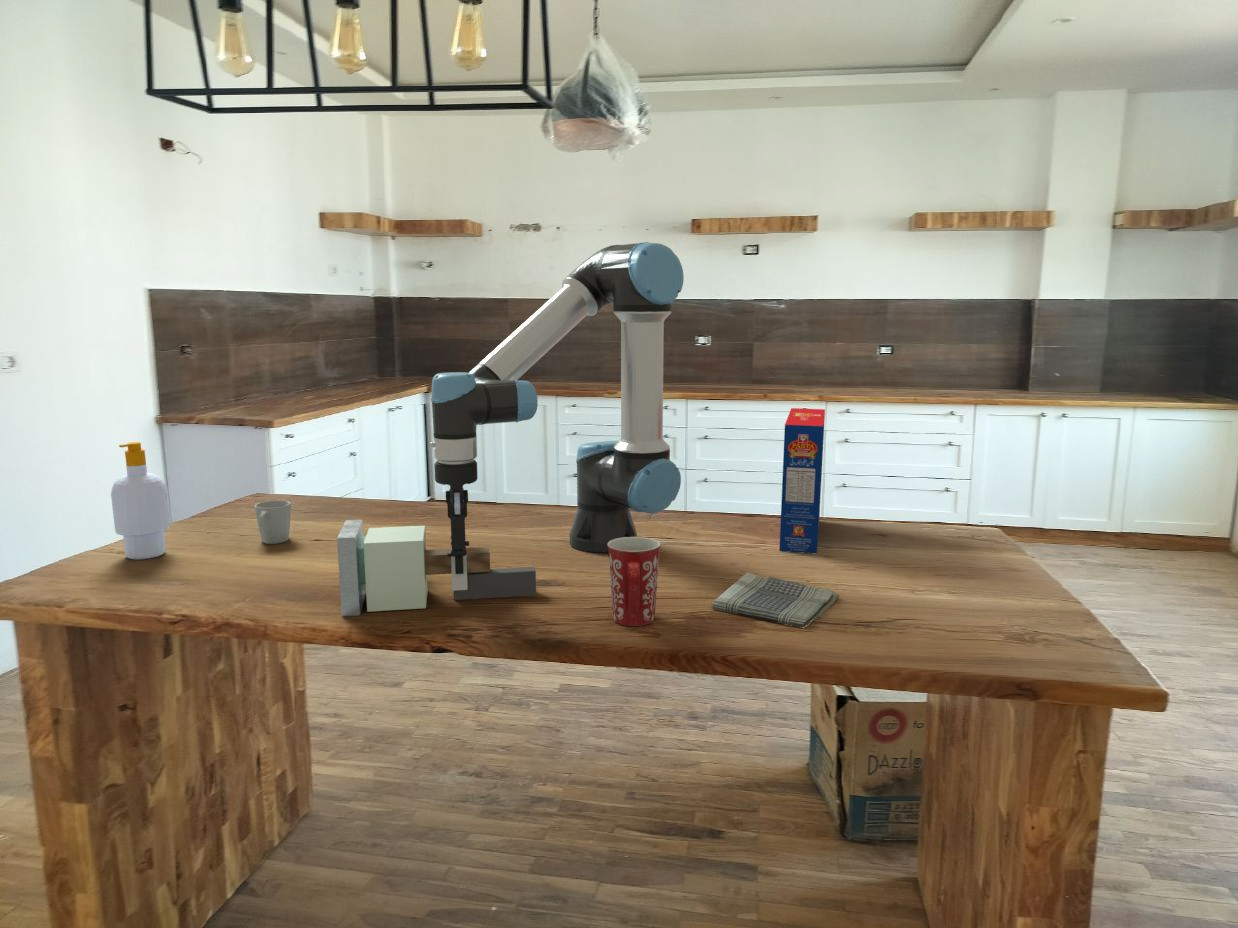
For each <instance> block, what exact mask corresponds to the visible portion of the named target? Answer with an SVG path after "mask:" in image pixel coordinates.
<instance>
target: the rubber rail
mask: <svg viewBox="0 0 1238 928" xmlns="http://www.w3.org/2000/svg"><path fill="white" fill-rule="evenodd" d="M467 589H468V590H455V591H453V600H454V601H461V600H478V599H494V598H509V597H510V598H511V597H512V598H513V597H526V596H527V597H528V596H529V597H531V596H537V571H536V567H535V566H530V567H529V566H527V567H526V566H525V567H510V568H490V572H473V573H467Z"/></svg>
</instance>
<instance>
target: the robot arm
mask: <svg viewBox="0 0 1238 928" xmlns="http://www.w3.org/2000/svg"><path fill="white" fill-rule="evenodd" d="M684 279H685V278H684V269H683V265H682V263H681V261H680V259H679V257H678V256H677V255H676V254H675V253H674V251H673V250H672V249H671V248H670V247H669V246H668V245H665V244H663V243H659V242H647V241H645V242H638V243H636V242H635V243H629V244H628V243H627V244H612V245H609V246H605V247H604V248H603V247H602V248H601V249H599V250H598V251H596V252H595V253H594V254H591V256H589V257H588V258H587V259H585V260H584V261H583V262H581V264H579V266H577V267H576V268H575V269H573V270H572V271H571V272H570V273H569V274H568V275H567V276H565V278H564V279H563V280H562V282H561V288H560V289H559V290H558V291H556V293H555V294H553V296H551V297H550V298H549V299H548V300H547V301H545V302H544V304H543V305H542V306H540V307H539V308H538V309H537V310H536V311H535V312H533V313H532V315H530V316H529V317H528V318H527V319H526V320H525V321H524V322H523V323H522V324H521V325H519V327H517V328H516V329H515V330H514V331H513V332H512V333H510V334H509V335H508V337H506V338H505V339H504V340H503V341H501V343H499V345H497V346H496V347H495V348H494V349H493V350H492V351H491V352H489V354H487V355H486V356H485V358H483V359H482V360H481V361H480V362H479V363H478V364H477V365H475V366H474V367H473V368H472V369H471V370H470V371H469V372H466V371H465V372H463V371H462V372H461V371H459V372H458V371H457V372H439V373H436V374H434V376H433V377H432V379H431V398H430V401H431V408H432V409H431V411H432V412H431V413H432V428H433V433H432V434H433V441H431V442H430V443H429V447H430V448H434V449H433V453H434V455H433V456H434V459H435V460H436V461H435V463H434V465H433V466H434V467H433V468H434V469H433V470H434V480H435V482H436V483H437V484H439V485H441V486H445V485H448V486H449V490H445V502H446V504H447V506H446V507H447V508H446V509H447V517H448V519H450V541H451V542H450V545H451V548H450V549H452V551H451V553H448V557H451V567H452V574H451V591H455V590H468V589H467V556H466V553H467V550H466V548H467V547H470V541H469V540H467V541H466V520H465V519H466V518H467V517H468V503H469V492H468V491H469V490H468V489H464V485H470V484H473V483H475V482H476V481H477V480H478V462H477V461H476V458H477V457H478V442H477V441H478V440H477V439H478V438H477V437H478V436H477V426H480V425H481V426H482V425H490V424H503V423H519V422H522V421H529V420H531V419H533V417H534V416H535V415H536V413H537V410H538V399H539V398H538V394H537V391H536V388H535V386H534V385H533V384H532V383H531V382H530V381H528V380H519V379H520V378H521V377H522V376H524V374H525V373H527V371H528V370H529V369H531V368H532V367H533V366H534V365H535V364H536V363H537V362H538V361H539V360H540V359H542V357H544V356H545V355H546V354H547V353H548V352H549V351H550V350H551V349H552V348H553V347H555V345H556V344H558V343H559V342H560V341H561V340H562V339H564V337H565V336H567V335H568V334H569V332H570V331H572V329H574V328H575V327H576V326H577V325H578V324H579V323H580V322H581V321H582V320H583V319H585V317H593V316H595V315H597V313H598V312H600V310H601V309H604V308H605V307H607V306H609V305H612V304H613V307H612V309H613V310H612V311H613V314H614V315H615V316H616V317H617V318H618V319H619V321H620V326H621V327H620V330H621V331H620V359H621V360H620V387H621V388H620V439H619V440H607V441H606V440H605V441H596V442H595V441H594V442H587V443H583V444H581V445H580V446H579V447H578V448H577V451H576V452H577V454H576V461H575V463H576V482H577V483H576V485H577V487H576V488H577V489H576V497H577V498H576V500H577V503H576V504H577V505H576V507H577V509H576V513H575V517H574V518H573V522H572V525H571V529H570V531H569V546H571V547H572V548H574V549H577V550H580V551H585V552H589V553H590V552H591V553H609V549H608V546H607V543H608V542H609V541H611V540H613V539H617V538H623V537H638V533H637V530H636V526H635V522H634V520H633V516H632V514H631V511H630V509H631V510H633V511H635V512H637V513H645V514H653V515H654V514H658V513H661V512H663V511H665V510H666V509H668V507H670V506H671V504H672V502H674V501H675V500H676V498H677V496H678V494H679V492H680V489H681V483H682V477H681V472H680V468H679V467H677V465H676V463H675V462H673V461H671V447H670V445H669V443H668V442H666V441H665V439H664V438H663V437H664V436H663V433H664V429H663V428H664V426H663V425H664V422H663V421H664V338H665V337H664V333H665V332H664V331H665V330H664V329H665V325H664V323H665V320H666V319H667V318H668V317H669V316H670V315H671V314H672V302H674V301H675V300H676V299H678V297H679V293H681V292H682V289H683V286H684V281H685V280H684Z"/></svg>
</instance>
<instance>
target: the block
mask: <svg viewBox="0 0 1238 928" xmlns="http://www.w3.org/2000/svg"><path fill="white" fill-rule="evenodd" d="M365 536H366V538H365V541H364V561H365V579H366V596H365V598H366V612H368V613H369V612H383V611H386V612H387V611H401V610H417V609H426V608H427V599H428V591H429V590H428V575H425V559H424V550H427V543H426V541H427V540H426V537H427V536H426V525H408V526H407V525H406V526H388V527H387V526H383V527H368V529H367V533H366V535H365Z"/></svg>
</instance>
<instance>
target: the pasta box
mask: <svg viewBox="0 0 1238 928" xmlns="http://www.w3.org/2000/svg"><path fill="white" fill-rule="evenodd" d="M825 416H826V409H823V408H797V407H795V408H794V407H793V408H792V407H791V408H790V411H789V413H788V415H787V418H786V421H785V423H784V436H783V437H784V438H783V459H782V460H783V461H782V462H783V463H782V480H781V481H782V483H781V484H782V485H781V486H782V487H781V503H780V504H781V505H780V506H781V508H780V524H779V525H780V530H779V531H780V533H779V552H786V551H791V552H790V553H799V552H804V553H803V554H812V553H817V554H818V546H817V545H818V543H819V530H820V517H821V516H820V513H821V512H820V510H821V496H822V495H821V494H822V492H821V491H822V480H823V479H822V476H823V474H822V473H823V458H824V457H823V456H824V439H825V436H824V435H825V422H826V421H825V420H826V419H825V418H826V417H825Z"/></svg>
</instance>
